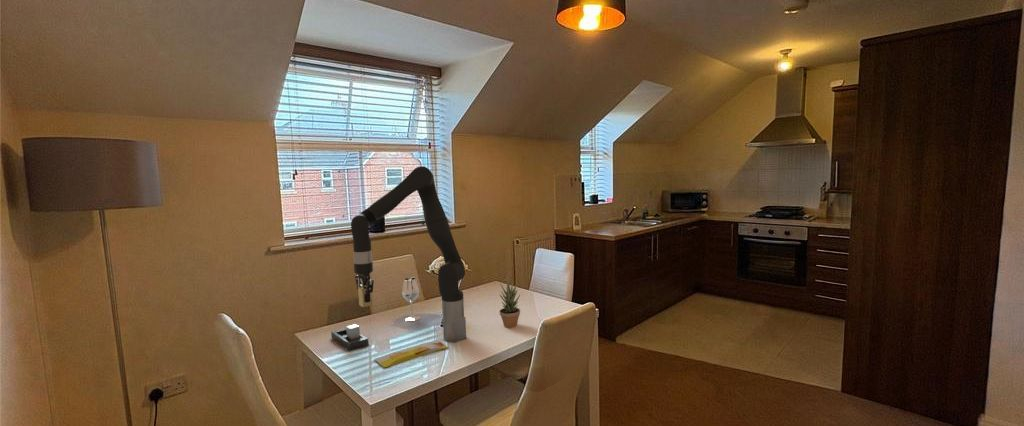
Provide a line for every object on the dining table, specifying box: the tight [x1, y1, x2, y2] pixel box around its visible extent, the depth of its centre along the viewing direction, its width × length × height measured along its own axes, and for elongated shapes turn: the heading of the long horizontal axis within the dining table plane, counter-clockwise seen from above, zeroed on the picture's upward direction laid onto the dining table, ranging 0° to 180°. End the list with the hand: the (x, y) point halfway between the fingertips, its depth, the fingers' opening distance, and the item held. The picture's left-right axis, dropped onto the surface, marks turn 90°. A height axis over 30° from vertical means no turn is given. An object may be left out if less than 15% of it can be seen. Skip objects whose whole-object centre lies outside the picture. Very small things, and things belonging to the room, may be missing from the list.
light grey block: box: [345, 323, 361, 342], centre depth 181 cm, size 4×4×8 cm
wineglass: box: [402, 277, 421, 322], centre depth 211 cm, size 8×8×20 cm
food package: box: [374, 340, 449, 368], centre depth 170 cm, size 27×2×10 cm
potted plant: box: [498, 273, 521, 329], centre depth 197 cm, size 10×10×25 cm
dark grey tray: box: [330, 327, 370, 352], centre depth 185 cm, size 20×8×3 cm, turn 42°
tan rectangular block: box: [357, 285, 373, 308], centre depth 183 cm, size 4×4×8 cm
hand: (365, 300), depth 183 cm, fingers closed on tan rectangular block, 4 cm apart
